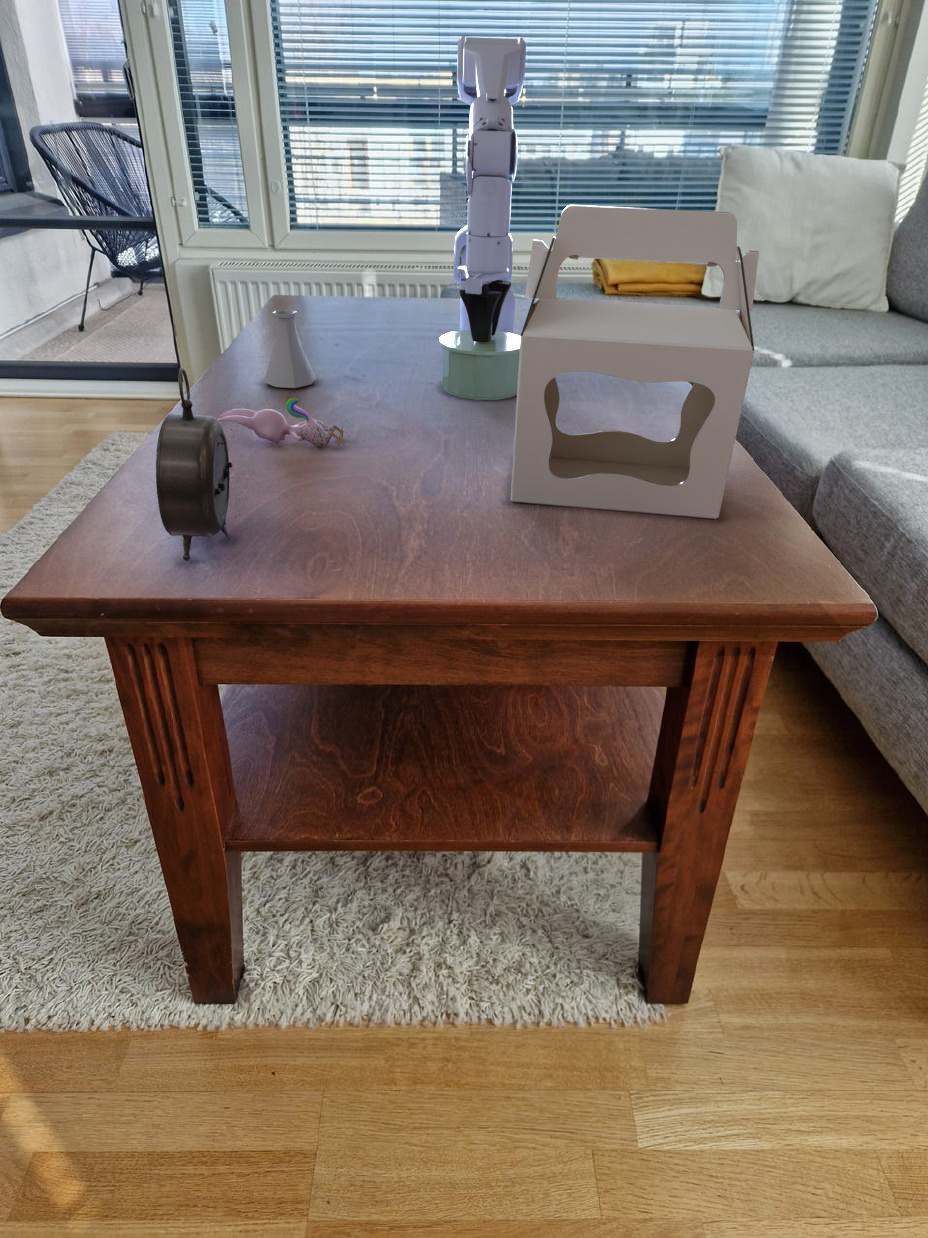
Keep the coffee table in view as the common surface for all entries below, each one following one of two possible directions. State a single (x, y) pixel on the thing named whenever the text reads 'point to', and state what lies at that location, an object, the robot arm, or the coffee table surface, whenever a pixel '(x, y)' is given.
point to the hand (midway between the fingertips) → (483, 337)
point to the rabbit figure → (284, 425)
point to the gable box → (634, 366)
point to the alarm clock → (192, 473)
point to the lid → (481, 343)
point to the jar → (480, 375)
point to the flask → (288, 355)
